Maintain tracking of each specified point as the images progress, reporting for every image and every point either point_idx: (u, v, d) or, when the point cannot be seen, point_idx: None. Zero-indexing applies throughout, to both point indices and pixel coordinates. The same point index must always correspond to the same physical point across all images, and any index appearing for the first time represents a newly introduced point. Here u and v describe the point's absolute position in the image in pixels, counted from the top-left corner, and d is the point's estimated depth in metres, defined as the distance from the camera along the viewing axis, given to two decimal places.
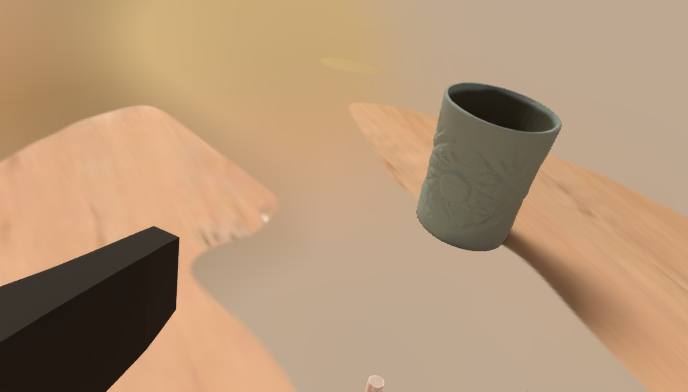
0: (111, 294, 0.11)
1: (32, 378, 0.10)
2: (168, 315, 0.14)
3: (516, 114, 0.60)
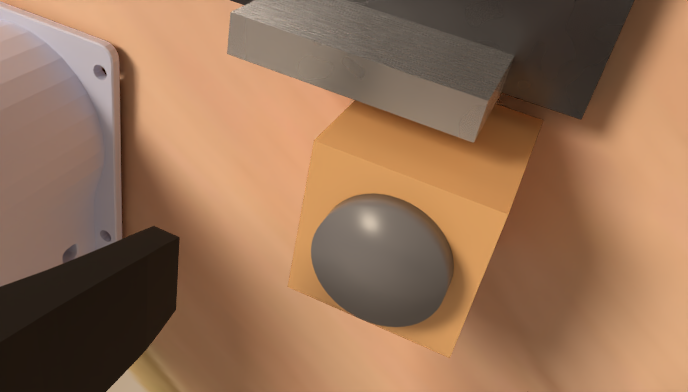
0: (111, 294, 0.11)
1: (32, 378, 0.10)
2: (168, 315, 0.14)
3: None
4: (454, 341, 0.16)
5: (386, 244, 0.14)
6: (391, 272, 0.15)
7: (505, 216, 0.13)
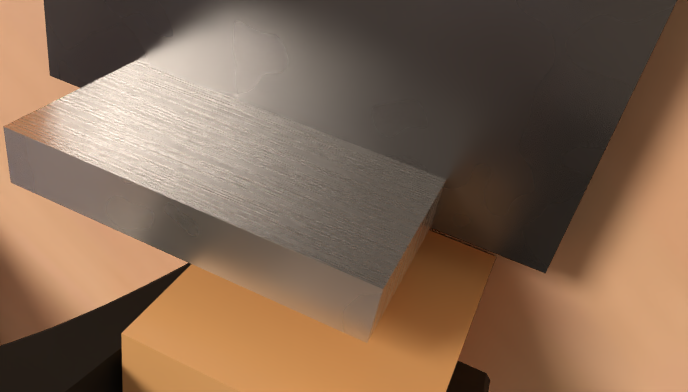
0: None
1: None
2: None
3: None
4: None
5: None
6: None
7: None
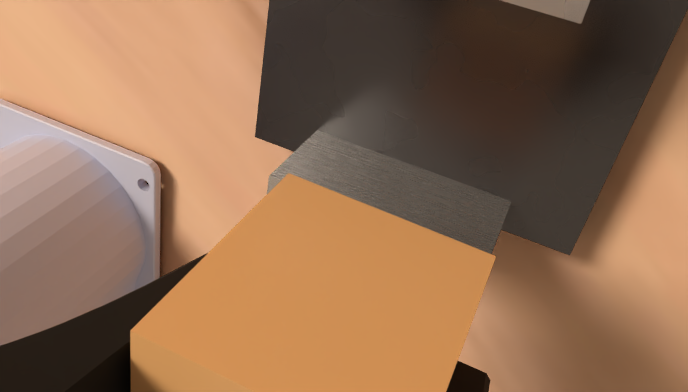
0: None
1: None
2: None
3: None
4: None
5: None
6: None
7: None
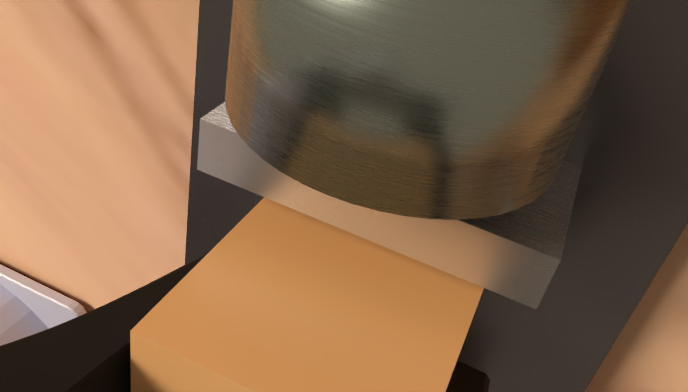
0: None
1: None
2: None
3: None
4: None
5: None
6: None
7: None
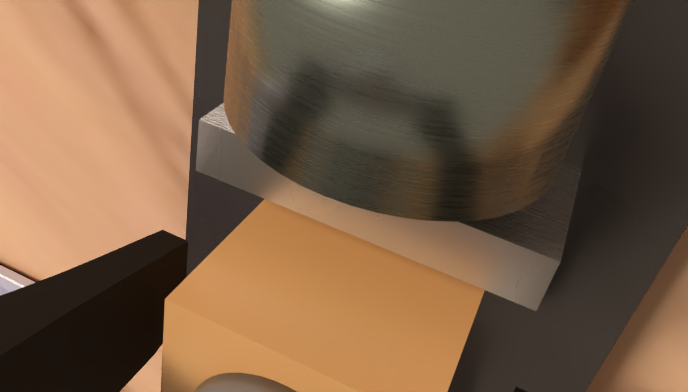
0: (121, 299, 0.11)
1: (43, 383, 0.10)
2: None
3: None
4: None
5: None
6: None
7: None
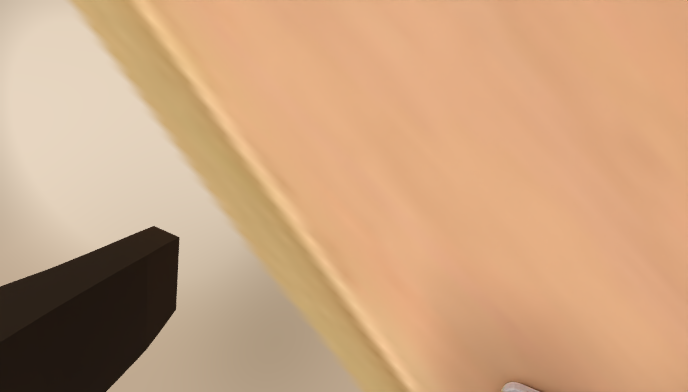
0: (111, 294, 0.11)
1: (32, 378, 0.10)
2: (168, 315, 0.14)
3: None
4: None
5: None
6: None
7: None
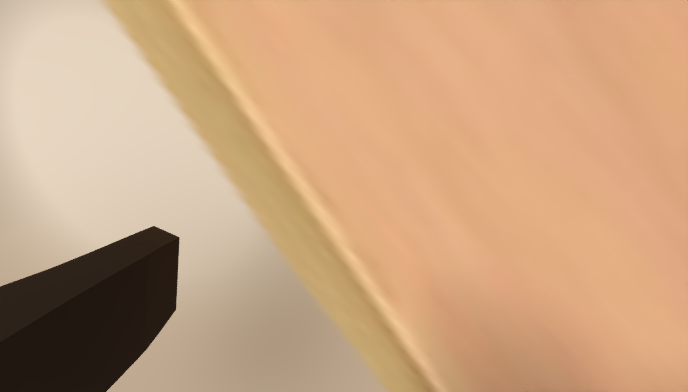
0: (111, 294, 0.11)
1: (32, 378, 0.10)
2: (168, 315, 0.14)
3: None
4: None
5: None
6: None
7: None
